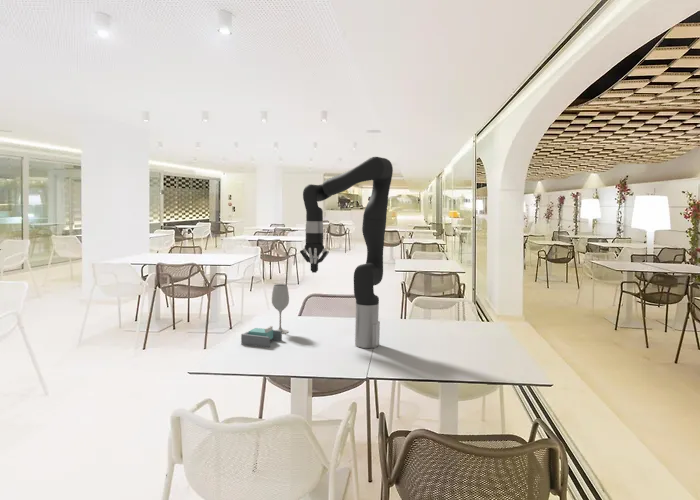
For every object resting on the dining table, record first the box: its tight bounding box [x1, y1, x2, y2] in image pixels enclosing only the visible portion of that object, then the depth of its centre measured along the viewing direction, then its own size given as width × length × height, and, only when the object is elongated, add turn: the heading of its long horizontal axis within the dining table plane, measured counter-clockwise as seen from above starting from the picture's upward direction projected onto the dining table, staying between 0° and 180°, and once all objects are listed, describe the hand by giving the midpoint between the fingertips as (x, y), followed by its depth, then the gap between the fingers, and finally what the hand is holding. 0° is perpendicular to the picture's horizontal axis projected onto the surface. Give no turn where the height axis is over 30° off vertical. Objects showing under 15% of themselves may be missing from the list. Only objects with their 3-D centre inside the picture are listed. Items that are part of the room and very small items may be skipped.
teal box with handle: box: [248, 325, 274, 344], centre depth 198 cm, size 8×6×6 cm
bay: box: [240, 329, 283, 348], centre depth 198 cm, size 12×12×4 cm
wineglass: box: [271, 283, 290, 335], centre depth 214 cm, size 8×8×21 cm
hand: (314, 272), depth 207 cm, fingers closed
